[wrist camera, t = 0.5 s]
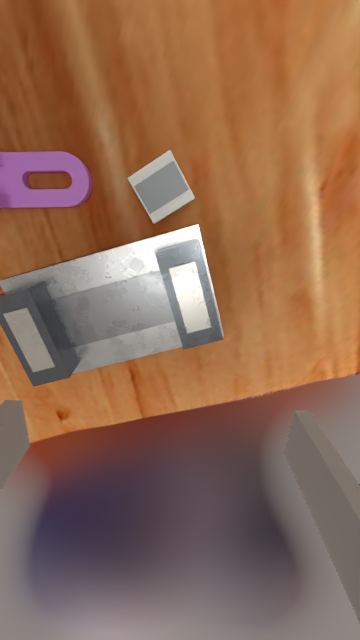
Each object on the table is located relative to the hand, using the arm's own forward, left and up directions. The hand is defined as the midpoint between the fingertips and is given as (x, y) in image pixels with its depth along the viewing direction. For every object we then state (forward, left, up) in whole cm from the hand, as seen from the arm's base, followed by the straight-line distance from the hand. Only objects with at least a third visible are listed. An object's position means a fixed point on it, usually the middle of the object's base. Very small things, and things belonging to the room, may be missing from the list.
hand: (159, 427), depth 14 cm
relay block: (-12, +3, -25) cm, 28 cm away
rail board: (0, -7, -25) cm, 26 cm away
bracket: (-17, -11, -26) cm, 33 cm away
